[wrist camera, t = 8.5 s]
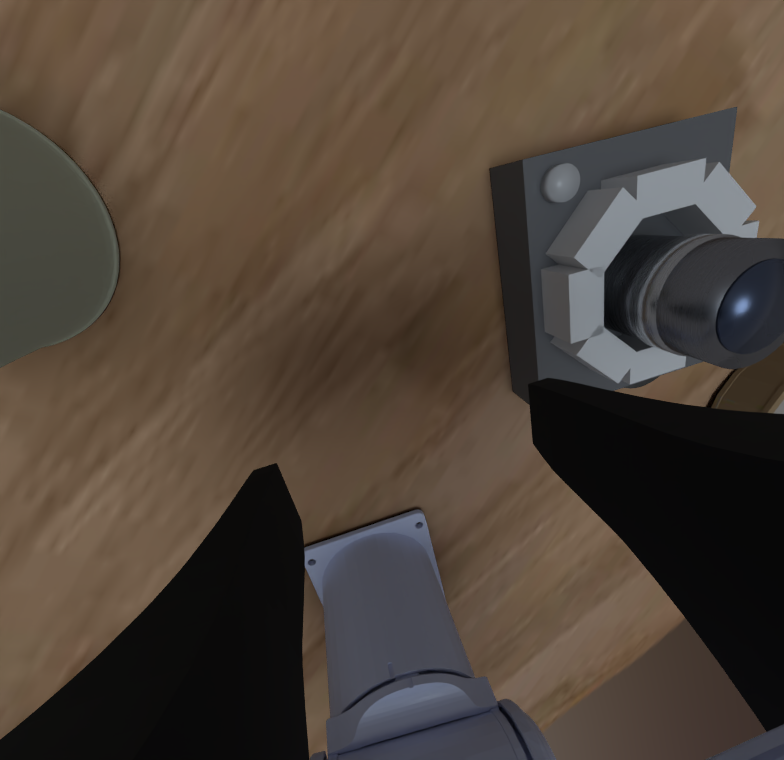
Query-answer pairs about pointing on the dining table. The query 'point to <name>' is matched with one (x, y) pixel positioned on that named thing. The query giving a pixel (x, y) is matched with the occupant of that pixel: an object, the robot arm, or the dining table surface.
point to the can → (49, 244)
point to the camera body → (603, 241)
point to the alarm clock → (756, 387)
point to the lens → (699, 296)
